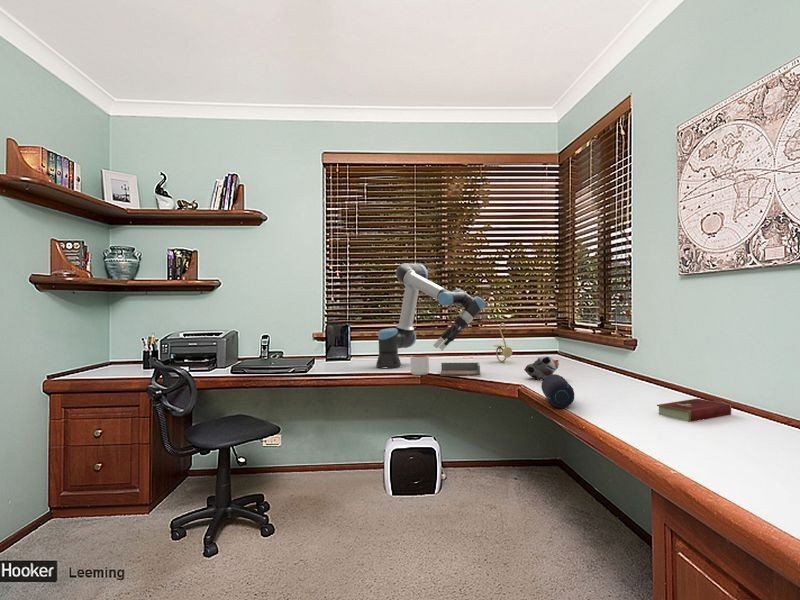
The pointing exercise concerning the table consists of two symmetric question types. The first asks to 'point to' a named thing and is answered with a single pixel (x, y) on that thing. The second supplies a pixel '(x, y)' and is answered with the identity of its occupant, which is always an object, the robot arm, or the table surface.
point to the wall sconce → (506, 351)
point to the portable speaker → (557, 391)
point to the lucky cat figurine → (542, 367)
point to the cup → (419, 364)
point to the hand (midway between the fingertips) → (437, 347)
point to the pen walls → (460, 366)
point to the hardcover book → (694, 409)
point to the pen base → (458, 372)
